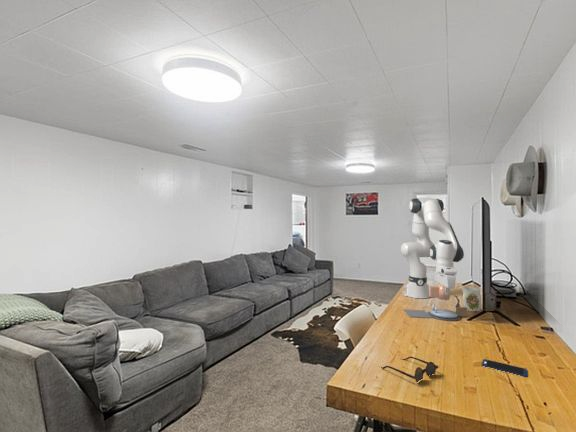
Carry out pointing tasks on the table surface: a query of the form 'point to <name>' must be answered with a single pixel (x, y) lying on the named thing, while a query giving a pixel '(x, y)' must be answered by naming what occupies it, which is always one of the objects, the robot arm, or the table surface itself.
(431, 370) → the eyeglasses
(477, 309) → the pitcher
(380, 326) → the table surface
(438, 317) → the base plate
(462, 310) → the turntable
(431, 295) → the jug
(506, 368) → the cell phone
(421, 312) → the mat
